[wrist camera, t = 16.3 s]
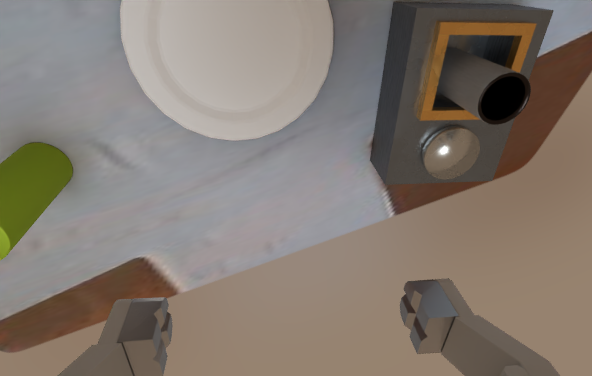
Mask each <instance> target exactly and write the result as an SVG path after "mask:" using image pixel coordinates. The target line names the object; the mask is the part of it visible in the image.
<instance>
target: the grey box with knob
mask: <svg viewBox="0 0 592 376" xmlns="http://www.w3.org/2000/svg"><path fill="white" fill-rule="evenodd" d="M553 11H554V10H547V9H540V8H533V7H526V6H519V5H511V4H461V3H411V2H394V4H393V11H392V17H391V24H390V31H389V37H388V44H387V51H386V57H385V64H384V71H383V77H382V84H381V91H380V98H379V104H378V111H377V118H376V124H375V131H374V138H373V144H372V151H371V158H370V161H371V163H372V164H373V166H374V167H375V169H376V171H377V172H378V174H379V175H380V177H381V179H382V180H383V182H384V184H385V185H388V184H415V183H442V182H469V181H492V180H493V177H494V174H495V171H496V169H497V166H498V163H499V160H500V158H501V155H502V152H503V149H504V146H505V144H506V141H507V138H508V135H509V133H510V130H511V127H512V124H513V122H514V119H515V118H514V119H512V120H510V121H508V122H506V123H503V124H499V125H491V124H487V123H485V122H483V121H482V120H480V119H479V118H477V117H476V116H474V115H473V114H471V113H470V112H468V111H467V110H465V109H464V108H462V107H461V106H459V105H458V104H456V103H455V102H453V101H452V100H450V99H449V98H447V97H445V96H444V95H442V94H441V93H439V92H438V91H437V86H438V82H439V78H440V73H441V69H442V65H443V60H444V56H445V52H446V49H449V48H456V49H460V50H463V51H465V52H468V53H470V54H473V55H476V56H478V57H481V58H483V59H486V60H488V61H491V62H493V63H496V64H498V65H501V66H504V67H506V68H509V69H511V70H514V71H516V72H519V73H521V74H523V75H524V76H526V78H527V79H528V80H529V77H530V74H531V72H532V69H533V66H534V63H535V61H536V58H537V55H538V52H539V50H540V47H541V44H542V41H543V39H544V36H545V33H546V30H547V27H548V25H549V22H550V19H551V16H552V14H553Z"/></svg>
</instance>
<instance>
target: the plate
mask: <svg viewBox="0 0 592 376" xmlns="http://www.w3.org/2000/svg"><path fill="white" fill-rule="evenodd" d="M120 20H121V40H122V43H123V46H124V50H125V53H126V56H127V60H128V63H129V66H130V69H131V71H132V72H133V74H134V76H135V78H136V79H137V81H138V83H139V84H140V86H141V88H142V90H143V91H144V93H145V94H146V95H147V96H148V97H149V98H150V100H151V101H152V102H153V103H154V104H155V105H156V106H157V107H158V108H159V109H160V110H161V111H162V112H163V113H164V114H165V115H167V116H168V117H169V118H171V119H172V120H174V121H175V122H177V123H178V124H180V125H181V126H183V127H184V128H186V129H188V130H191V131H194V132H196V133H199V134H201V135H204V136H207V137H209V138H216V139H223V140H231V141H237V140H247V139H257V138H260V137H263V136H266V135H268V134H271V133H274V132H277V131H279V130H281V129H282V128H284V127H285V126H287V125H288V124H290V123H291V122H293V121H294V120H296V119H297V118H299V117H300V116H301V114H302V113H303V112H304V111H305V110H306V109H307V108H308V107H309V105H310V104H311V103H312V102H313V101H314V100H315V99H316V97H317V95H318V93H319V91H320V89H321V87H322V85H323V83H324V81H325V79H326V77H327V75H328V70H329V66H330V62H331V58H332V54H333V19H332V15H331V11H330V7H329V3H328V0H122V2H121V6H120Z"/></svg>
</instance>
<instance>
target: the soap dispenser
mask: <svg viewBox="0 0 592 376" xmlns="http://www.w3.org/2000/svg"><path fill="white" fill-rule="evenodd" d="M72 174H73V168H72V165H71V162H70V161H69V159H68V158H67V156H66V155H65V154H64V153H63V152H61V151H60V150H59V149H57V148H55V147H53V146H51V145H48V144H44V143H29V144H26V145H24V146H22V147H21V148H20V149H18V150H17V151H16V152H15V153H13V154H12V155H11V156H10V157H8V158H7V159H6V160H5V161H3V162H2V163H1V164H0V260H2V259H3V258H5V257H6V256H7V255H8V253H9V252H10V251H11V250H12V249H13V247H14V246H15V245H16V244H17V243H18V241H19V240H20V239H21V238H22V237H23V236H24V234H25V233H26V232H27V231H28V230H29V228H30V227H31V226H32V225H33V224H34V222H35V221H36V220H37V219H38V218H39V216H40V215H41V214H42V213H43V212H44V211H45V209H46V208H47V207H48V206H49V205H50V203H51V202H52V201H53V200H54V199H55V197H56V196H57V195H58V194H59V193H60V191H61V190H62V189H63V188H64V187H65V185H66V184H67V183H68V182H69V181H70V179H71V177H72Z"/></svg>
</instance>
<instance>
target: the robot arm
mask: <svg viewBox="0 0 592 376" xmlns="http://www.w3.org/2000/svg"><path fill="white" fill-rule="evenodd" d="M404 291H405V293H406V294H405V295H404V296H403V297H402V298H401V303H400V313H401V317H402V320H403V322H404V325H405V326H406V327H408V328H409V329H410V330H411V334H410V338H411V341H412V343H413V345H414V348H415V350H416V352H417V354H424V353H441V352H442V355H443V356H444V357H445V358H446V359H447V360H449V362H451V363H452V364H453V365H454V366H455V367H456V368H457V369H458V370H459V371H460V372H461V373H462V374H463V375H465V376H560V375H559V374H558V372H557V371H556V370H555V369H554V367H553V366H552V364H551V363H550V362H549V361H548V360H546V359H545V358H543V357H542V356H540V355H539V354H537V353H536V352H534V351H533V350H531V349H530V348H528V347H527V346H525V345H523V344H522V343H520V342H519V341H517V340H516V339H514V338H513V337H511V336H510V335H508V334H507V333H505V332H504V331H502V330H500V329H499V328H497V327H496V326H494V325H493V324H491V323H490V322H488V321H487V320H485V319H484V318H482V317H480V316H479V315H474V314H473V312H472V311H471V309H470V308H469V306H468V305H467V303H466V302H465V300H464V299H463V297H462V295H461V294H460V293H459V291H458V289H457V288H456V286H455V285H454V283H453V282H452V280H450V279H449V278H448V279H435V280H433V279H432V280H420V281H408V282H407V283H406V284H405V286H404ZM167 310H168V301H167V298H141V299H123V300H117V301H116V302H115V303H114V305H113V307H112V310H111V312H110V314H109V317H108V319H107V322H106V324H105V327H104V329H103V332H102V334H101V337H100V339H99V341H98V344H97V345H92V346H91V347H90V348H88V349H87V350H86V351H85V352H84V353H83V354H82V355H80V356H79V357H78V358H77V359H76V360H75V361H74V362H73V363H71V364H70V365H69V366H68V367H67V368H66V369H65V370H63V371H62V372H61V373H60V374H59V375H58V376H163V374H164V370H165V365H166V360H167V353H166V347H167V346H168V345H169V344H170V341H171V336H172V318H171V314H170V313H168V312H167Z"/></svg>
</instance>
